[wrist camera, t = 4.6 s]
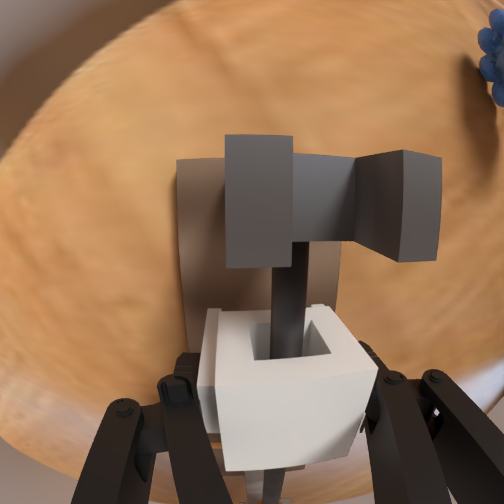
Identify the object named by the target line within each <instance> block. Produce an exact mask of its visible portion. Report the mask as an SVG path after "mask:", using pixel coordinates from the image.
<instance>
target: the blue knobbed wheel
mask: <svg viewBox="0 0 504 504" xmlns="http://www.w3.org/2000/svg"><path fill="white" fill-rule="evenodd" d="M489 23H490V26H491V28H492V29H490V28H486V27H485V28H483V29H481V30H480V31H479V33H478V44H479V46H480V48H481V49H482V50H483V51H484V52H485V53H486V54H487V55H485V56H483V57H481V59H480V62H479V70H480V72H481V75H482V76H483V78H485V79H486V80H487V81H489V82H494V84H493V86H492V96H493V99H494V101H495V103H496V104H497V105H498V106H501V107H504V11H502V10H499V9H495V10H493V11H492V12H490V15H489Z"/></svg>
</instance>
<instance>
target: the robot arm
mask: <svg viewBox="0 0 504 504" xmlns="http://www.w3.org/2000/svg"><path fill="white" fill-rule="evenodd" d="M323 306H325V305H324V304H314V305H311V307H323ZM219 311H222V310H221V308H208V310H207V316H206V323H205V330H204V336H203V343H202V350H201V353H182V354H181V355H180V356H179V357H178V358H177V361H176V365H175V369H174V373H173V374H171V375H167V376H165V377H163V378H161V380H160V381H159V382H158V385H157V389H158V393H159V396H160V400H161V402H159V403H157V404H153V405H147V406H140V405H139V403H138V402H136V401H135V400H133V399H129V398H121V399H118V400H115V401H113V402H112V403H110V405H109V406H108V408H107V410H106V412H105V415H104V417H103V419H102V422H101V424H100V426H99V429H98V431H97V434H96V436H95V438H94V441H93V443H92V446H91V448H90V451H89V454H88V456H87V459H86V461H85V464H84V467H83V469H82V472H81V475H80V478H79V481H78V484H77V486H76V489H75V492H74V495H73V498H72V501H71V504H148V501H149V494H150V488H151V482H152V476H153V470H154V464H155V458H156V453H160V452H166V451H169V457H170V462H171V467H172V472H173V477H174V481H175V486H176V490H177V494H178V498H179V502H180V504H233V502H232V500H231V498H230V495H229V493H228V490H227V488H226V485H225V482H224V480H223V477H222V475H221V472H220V469H219V466H218V464H217V461H216V458H215V455H214V452H213V449H212V446H211V443H210V440H209V437H208V434H207V433H220V427H219V419H218V410H217V402H216V393H215V370H216V351H217V334H218V319H219ZM358 343H359V344H360V345H361V346H362V348H363V349H364V350H365V351H366V353H367V354H368V355H369V356H370V358H371V359H372V360H373V362H374V363H375V364H376V365H377V367H378V371H377V375H376V378H375V382H374V385H373V388H372V391H371V394H370V397H369V400H368V403H367V406H366V409H365V413H366V415H365V418H364V420H363V423H362V425H361V428H360V433H362V431H363V429H364V427H365V433H366V438H367V444H368V451H369V458H370V465H371V472H372V481H373V489H374V499H375V504H452V502H451V499H450V495H449V491H448V489H449V490H450V492H451V494H452V495H453V497H454V498H455V500H456V502H457V503H458V504H504V434H503V433H502V432H501V431H500V430H499V429H498V427H497V426H496V425H495V424H494V423H493V422H492V421H491V420H490V419H489V418H488V417H487V415H486V414H485V413H484V412H483V411H482V410H481V409H480V408H479V407H478V406H477V405H476V404H475V403H474V402H473V401H472V400H471V399H470V398H469V397H468V396H467V395H466V394H465V392H464V391H463V390H462V389H461V388H460V387H459V386H458V385H457V384H456V383H455V382H454V381H453V380H452V379H451V378H450V377H449V376H448V375H447V374H445V373H444V372H443V371H440V370H437V369H431V370H427V371H425V372H424V374H423V376H422V378H421V379H407V378H406V377H405V375H403V374H402V373H400V372H397V371H391V370H389V369H388V368H387V367H386V366H385V364H384V363H383V362H382V361H381V360H380V358H379V357H377V355H376V354H375V352H373V350H372V349H371V348H370V346H369V345H367V344H366V343H364V342H362V341H358ZM436 408H437V410H438V411H439V412H440V413H439V414H438V416H436V415H435V414H434V411H435V409H436ZM447 487H448V488H447Z"/></svg>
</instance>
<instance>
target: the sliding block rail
mask: <svg viewBox="0 0 504 504" xmlns="http://www.w3.org/2000/svg"><path fill="white" fill-rule="evenodd" d="M441 202H442V158H440V157H436V156H431V155H427V154H422V153H418V152H413V151H408V150H397V151H391V152H386V153H380V154H374V155H369V156H363V157H358V158H350V157H340V156H329V155H316V154H299V153H293V136H282V135H225V158H202V159H181V160H177V216H178V239H179V256H180V270H181V283H182V294H183V305H184V315H185V324H186V332H187V341H188V348H189V353H201V350H202V343H203V336H204V330H205V323H206V316H207V310H208V308H221V310H222V311H253V310H271V326H270V357H269V360H273V359H286V358H297V357H301V356H302V346H303V336H304V324H305V312H306V308H310V307H311V305H314V304H324V305H325V306H329V307H330V308H331V309H332V310H333V312H334V313H335V308H336V299H337V289H338V279H339V267H340V254H341V241H354V242H356V243H359V244H361V245H363V246H365V247H367V248H369V249H371V250H373V251H375V252H378V253H380V254H382V255H384V256H386V257H388V258H390V259H392V260H394V261H396V262H398V263H399V262H419V261H436V257H437V250H438V241H439V231H440V219H441ZM207 434H208V437H209V440H210V443H211V446H212V449H213V452H214V455H215V458H216V461H217V464H218V466H219V469H220V472H221V475H222V476H234V475H245V483H246V494H247V502H240V504H291V501H290V498H286V499H281V490H282V485H283V480H284V475H285V472H287V471H294V470H301V469H304V468H305V465H298V466H291V467H283V468H274V469H264V470H249V471H226V469H225V462H224V456H223V449H222V442H221V434H220V433H207Z"/></svg>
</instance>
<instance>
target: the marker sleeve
mask: <svg viewBox="0 0 504 504" xmlns="http://www.w3.org/2000/svg"><path fill="white" fill-rule="evenodd" d="M270 326H271V310H253V311H219V319H218V334H217V351H216V370H215V393H216V402H217V410H218V419H219V427H220V434H221V442H222V449H223V456H224V462H225V469H226V471H249V470H264V469H274V468H283V467H291V466H298V465H305V464H311V463H316V462H322V461H327V460H331V459H336V458H340V457H344V456H347V455H348V453H349V450H350V448H351V446H352V443H353V441H354V438H355V436H356V433H357V431H358V428H359V426H360V423H361V420H362V418H363V415H364V412H365V409H366V406H367V403H368V400H369V397H370V394H371V391H372V388H373V385H374V382H375V378H376V375H377V371H378V367H377V365H376V364H375V363H374V362H373V360H372V359H371V358H370V356H369V355H368V354H367V353H366V351H365V350H364V349H363V348H362V346H361V345H360V344H359V343H358V341H357V340H356V339H355V338H354V336H353V335H352V334H351V333H350V331H349V330H348V329H347V328H346V326H345V325H344V324H343V323H342V321H341V320H340V319H339V318H338V316H337V315H336V314H335V313H334V312H333V310H332V309H331V308H330V307H329V306H323V307H310V308H306V312H305V324H304V336H303V346H302V356H301V357H297V358H286V359H273V360H269V357H270Z"/></svg>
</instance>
